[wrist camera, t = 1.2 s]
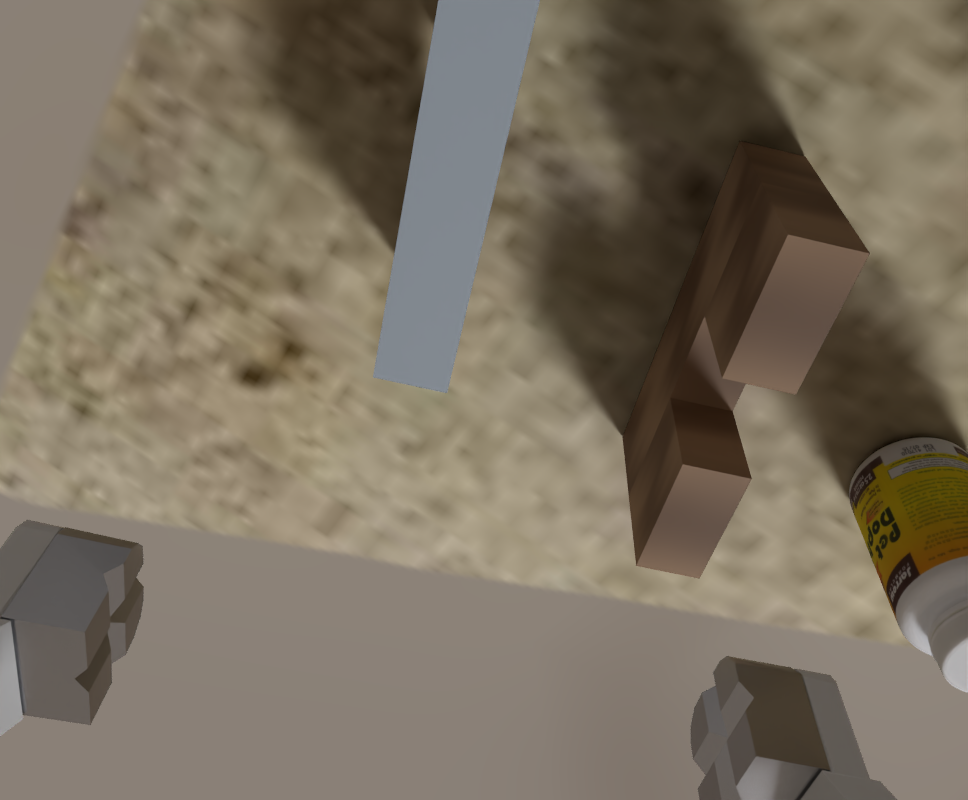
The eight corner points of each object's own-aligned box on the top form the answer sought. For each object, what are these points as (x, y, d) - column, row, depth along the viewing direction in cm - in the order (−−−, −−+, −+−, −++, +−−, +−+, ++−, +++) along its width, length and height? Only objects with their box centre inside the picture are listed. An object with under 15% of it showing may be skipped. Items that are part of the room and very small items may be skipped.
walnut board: (739, 140, 32) (787, 234, 25) (805, 156, 32) (870, 253, 25) (622, 436, 40) (636, 565, 33) (675, 448, 40) (699, 578, 34)
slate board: (477, -125, 28) (454, -94, 21) (554, -104, 28) (555, -67, 21) (406, 267, 36) (373, 377, 29) (466, 280, 36) (446, 393, 29)
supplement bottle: (845, 439, 39) (924, 618, 31) (979, 423, 38) (1098, 603, 30) (842, 529, 42) (914, 714, 34) (966, 517, 41) (1071, 703, 33)
